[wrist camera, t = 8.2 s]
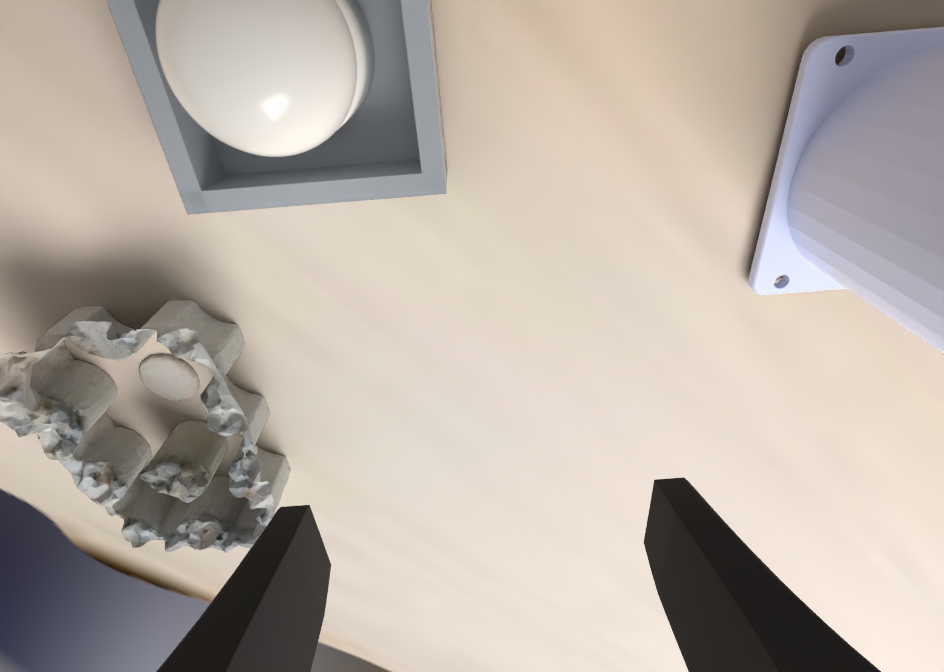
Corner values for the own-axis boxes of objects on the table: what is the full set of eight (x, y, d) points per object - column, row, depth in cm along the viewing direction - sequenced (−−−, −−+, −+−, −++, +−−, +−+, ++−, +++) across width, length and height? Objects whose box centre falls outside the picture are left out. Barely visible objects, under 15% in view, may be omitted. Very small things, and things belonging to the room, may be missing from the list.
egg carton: (41, 294, 18) (-56, 358, 15) (251, 290, 18) (203, 352, 15) (144, 496, 24) (91, 577, 20) (304, 492, 24) (278, 571, 21)
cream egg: (359, -48, 12) (311, -84, 8) (386, 125, 15) (358, 168, 10) (198, -34, 13) (68, -62, 8) (248, 137, 15) (164, 184, 10)
